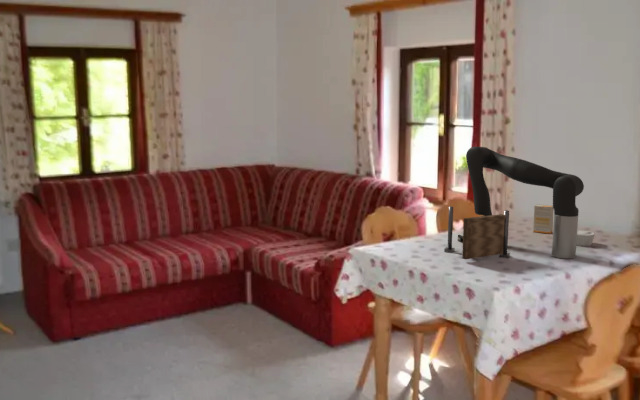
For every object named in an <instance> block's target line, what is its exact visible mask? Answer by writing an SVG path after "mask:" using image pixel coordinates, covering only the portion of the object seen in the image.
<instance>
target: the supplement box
mask: <svg viewBox="0 0 640 400" xmlns="http://www.w3.org/2000/svg"><path fill="white" fill-rule="evenodd" d="M553 225H554V208H553V204H552V205H549V204H538V203H537V204H535V205H534V206H533V228H532V229H533V233H538V234H539V233H542V234H550V235H551V234H553Z"/></svg>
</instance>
